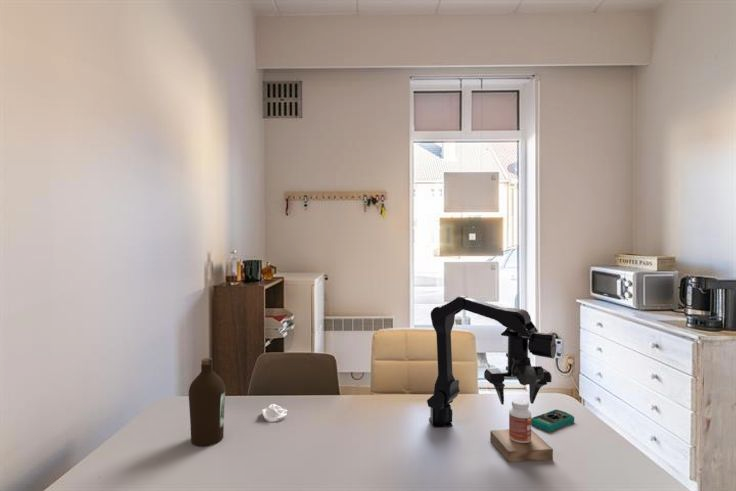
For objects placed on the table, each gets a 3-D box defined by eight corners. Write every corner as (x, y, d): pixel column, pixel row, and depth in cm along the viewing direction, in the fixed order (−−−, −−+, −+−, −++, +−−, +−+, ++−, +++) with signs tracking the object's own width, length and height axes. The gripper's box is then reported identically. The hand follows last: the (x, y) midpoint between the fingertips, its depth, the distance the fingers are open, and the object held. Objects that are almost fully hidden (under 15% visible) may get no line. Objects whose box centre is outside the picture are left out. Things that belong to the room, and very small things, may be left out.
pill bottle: (531, 445, 122) (531, 407, 122) (509, 442, 124) (509, 404, 124) (530, 436, 128) (530, 399, 128) (509, 433, 130) (509, 396, 130)
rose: (253, 406, 147) (272, 397, 156) (253, 419, 147) (272, 409, 156) (276, 412, 143) (294, 402, 151) (276, 425, 143) (294, 414, 151)
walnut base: (508, 462, 119) (508, 451, 119) (490, 440, 132) (490, 430, 132) (552, 459, 120) (552, 449, 120) (530, 437, 133) (530, 428, 133)
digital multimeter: (575, 423, 145) (575, 414, 145) (549, 434, 137) (549, 425, 137) (556, 415, 151) (556, 407, 151) (529, 425, 143) (529, 416, 143)
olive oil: (188, 450, 125) (187, 365, 125) (189, 434, 135) (189, 356, 135) (226, 444, 129) (225, 362, 128) (225, 429, 139) (224, 353, 138)
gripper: (498, 360, 119) (497, 416, 119) (562, 359, 121) (561, 414, 121) (483, 349, 130) (483, 400, 130) (542, 348, 132) (541, 398, 132)
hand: (517, 403), depth 128 cm, fingers open, 9 cm apart
